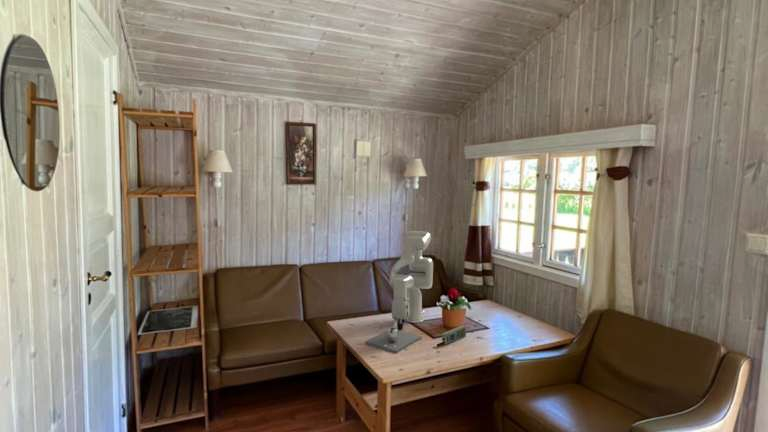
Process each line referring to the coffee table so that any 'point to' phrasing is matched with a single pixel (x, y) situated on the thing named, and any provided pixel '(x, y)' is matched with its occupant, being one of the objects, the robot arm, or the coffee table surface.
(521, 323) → the coffee table surface
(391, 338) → the bar with ball ends
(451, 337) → the handheld radio
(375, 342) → the stand plate
